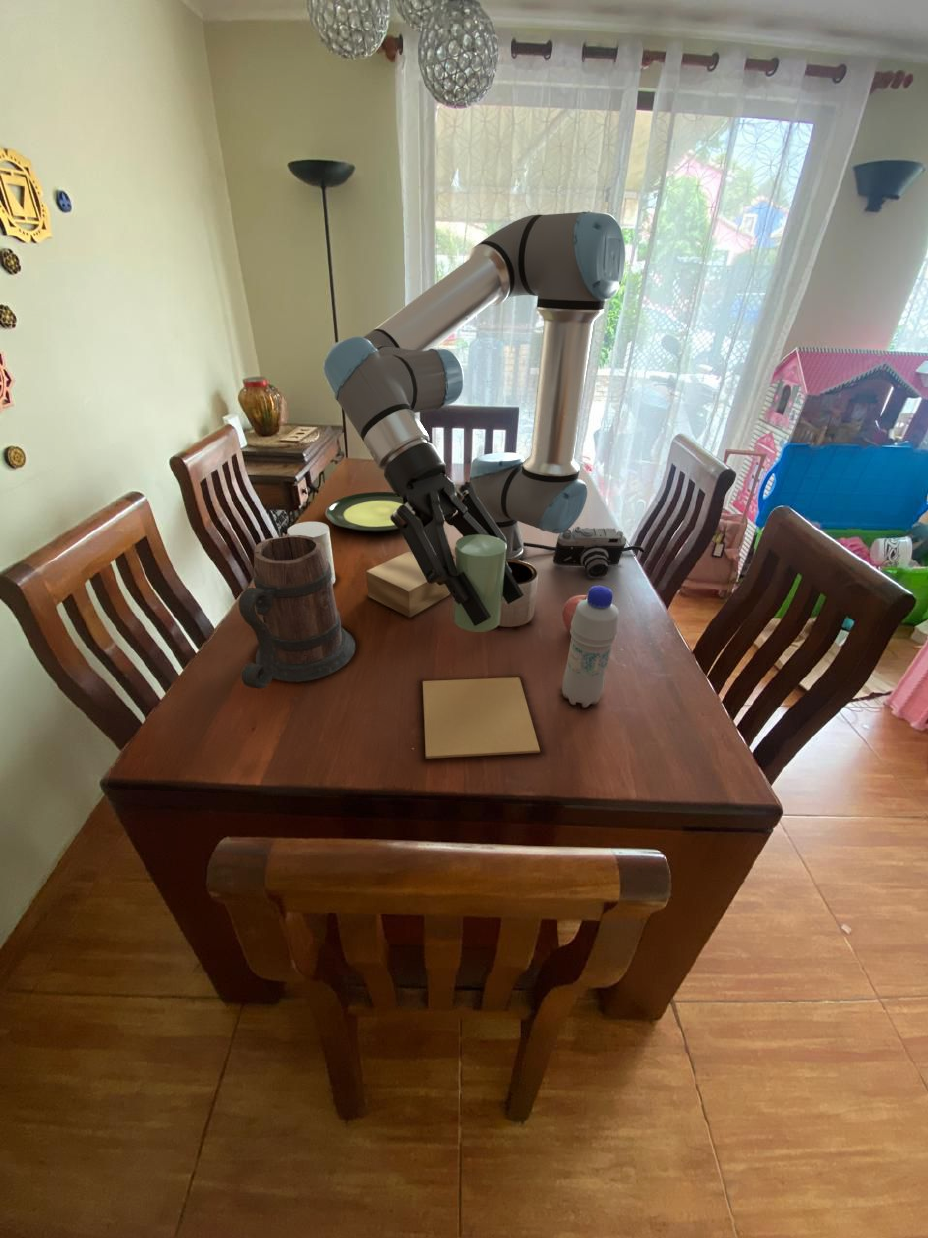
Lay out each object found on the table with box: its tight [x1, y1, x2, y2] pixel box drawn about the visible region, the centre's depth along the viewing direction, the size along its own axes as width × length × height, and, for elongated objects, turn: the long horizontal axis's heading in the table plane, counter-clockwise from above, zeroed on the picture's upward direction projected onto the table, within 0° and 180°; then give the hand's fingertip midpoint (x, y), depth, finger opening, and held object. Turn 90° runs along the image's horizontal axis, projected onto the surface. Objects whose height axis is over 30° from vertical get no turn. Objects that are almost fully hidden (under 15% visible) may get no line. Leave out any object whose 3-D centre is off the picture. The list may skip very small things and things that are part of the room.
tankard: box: [238, 535, 356, 690], centre depth 83 cm, size 24×17×20 cm
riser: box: [365, 551, 451, 618], centre depth 106 cm, size 12×12×6 cm
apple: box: [561, 594, 588, 632], centre depth 96 cm, size 7×7×8 cm
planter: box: [497, 559, 539, 628], centre depth 100 cm, size 11×11×10 cm
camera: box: [552, 526, 628, 580], centre depth 116 cm, size 16×9×10 cm, turn 93°
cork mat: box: [422, 676, 541, 760], centre depth 79 cm, size 16×16×1 cm
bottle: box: [561, 585, 620, 708], centre depth 78 cm, size 7×7×20 cm
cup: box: [286, 521, 336, 585], centre depth 109 cm, size 8×8×12 cm
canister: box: [453, 534, 507, 633], centre depth 68 cm, size 6×6×11 cm
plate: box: [325, 491, 420, 533], centre depth 141 cm, size 28×28×2 cm
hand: (499, 610), depth 67 cm, fingers closed on canister, 6 cm apart
